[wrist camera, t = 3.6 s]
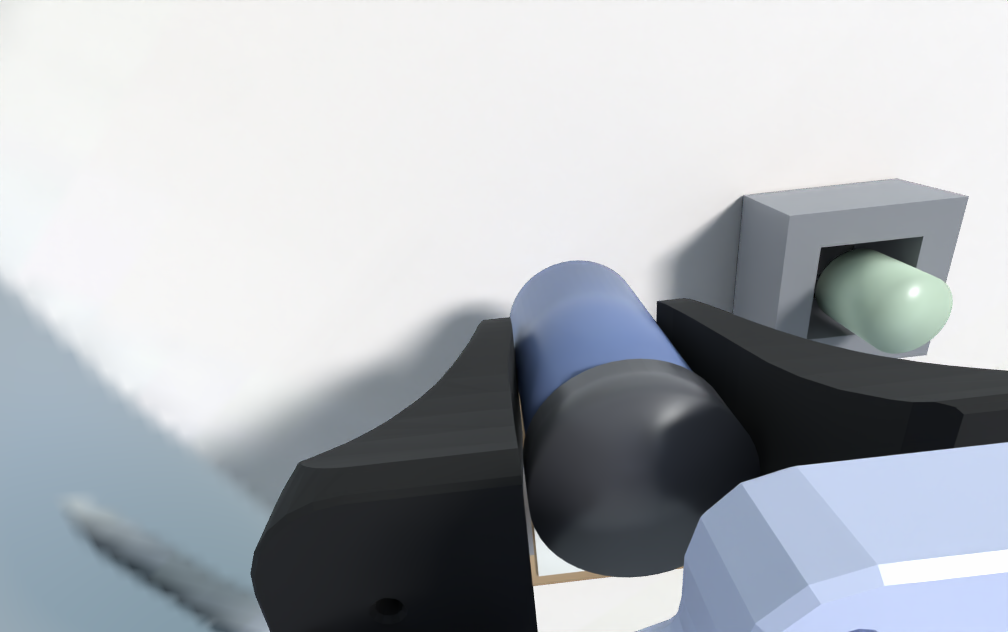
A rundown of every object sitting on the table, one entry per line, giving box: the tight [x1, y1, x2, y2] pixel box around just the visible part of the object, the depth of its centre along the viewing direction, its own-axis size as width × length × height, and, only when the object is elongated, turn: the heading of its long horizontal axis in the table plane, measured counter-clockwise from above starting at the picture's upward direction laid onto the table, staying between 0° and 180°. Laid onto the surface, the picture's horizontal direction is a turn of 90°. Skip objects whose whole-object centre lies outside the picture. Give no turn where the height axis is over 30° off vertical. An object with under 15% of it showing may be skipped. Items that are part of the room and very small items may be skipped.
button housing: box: [733, 179, 969, 358], centre depth 15 cm, size 4×4×2 cm
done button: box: [815, 248, 953, 354], centre depth 13 cm, size 2×2×2 cm
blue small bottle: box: [510, 261, 760, 577], centre depth 11 cm, size 3×3×6 cm
